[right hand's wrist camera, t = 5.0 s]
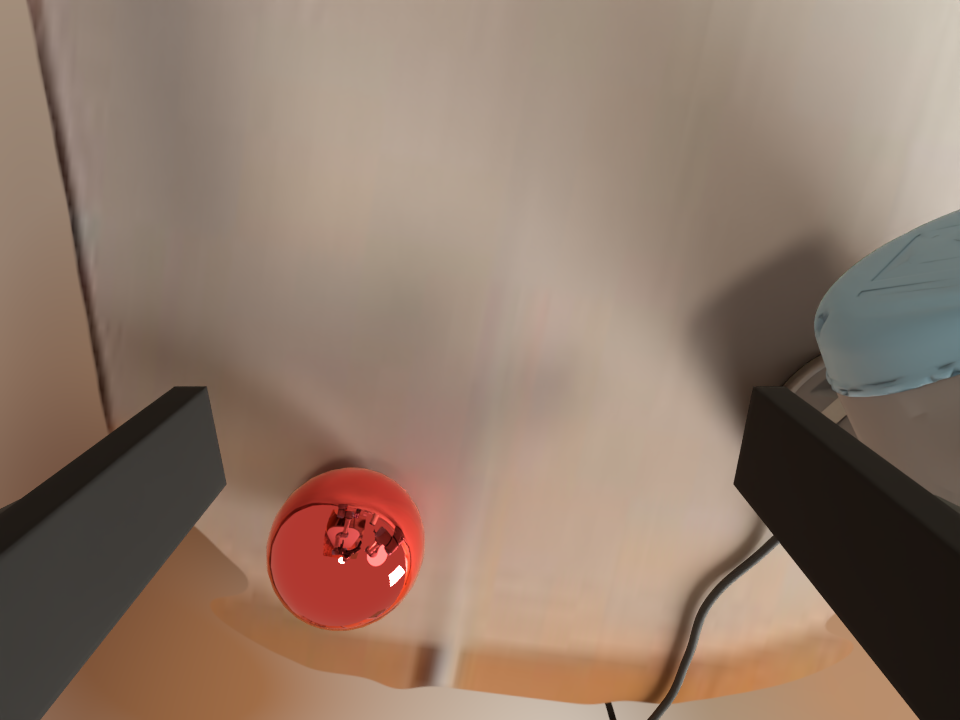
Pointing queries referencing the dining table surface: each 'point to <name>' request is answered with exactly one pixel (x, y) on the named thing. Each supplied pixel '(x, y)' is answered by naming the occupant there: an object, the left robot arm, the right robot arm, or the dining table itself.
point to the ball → (345, 549)
